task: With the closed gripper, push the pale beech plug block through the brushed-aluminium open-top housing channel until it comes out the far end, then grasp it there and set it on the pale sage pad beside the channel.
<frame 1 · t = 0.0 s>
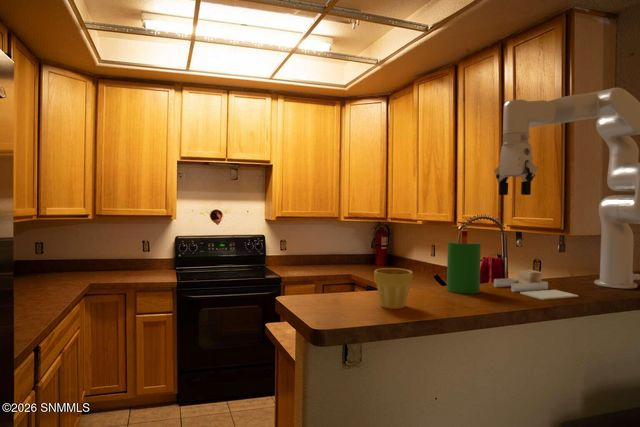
hand: (514, 194, 146), 31 cm above the countertop, tool pointing down, fingers open, 9 cm apart
plant pot: (392, 306, 127), on the countertop
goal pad: (548, 295, 144), on the countertop
plug block: (529, 287, 157), on the countertop
green cylinder: (463, 291, 149), on the countertop
housing channel: (520, 287, 155), on the countertop
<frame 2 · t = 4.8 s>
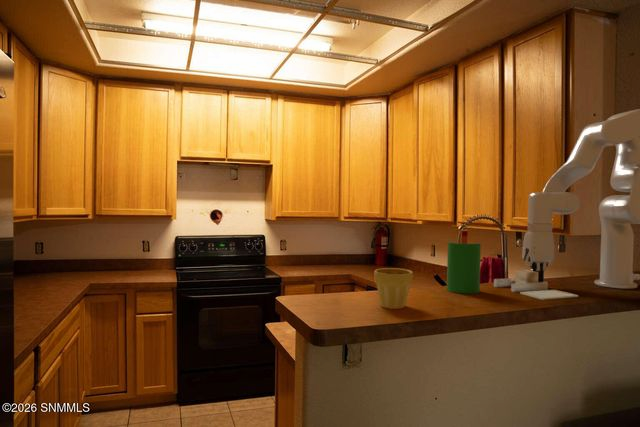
hand: (538, 282, 158), 2 cm above the countertop, tool pointing down, fingers closed
plug block: (526, 287, 156), on the countertop, touching gripper
everything else where it was.
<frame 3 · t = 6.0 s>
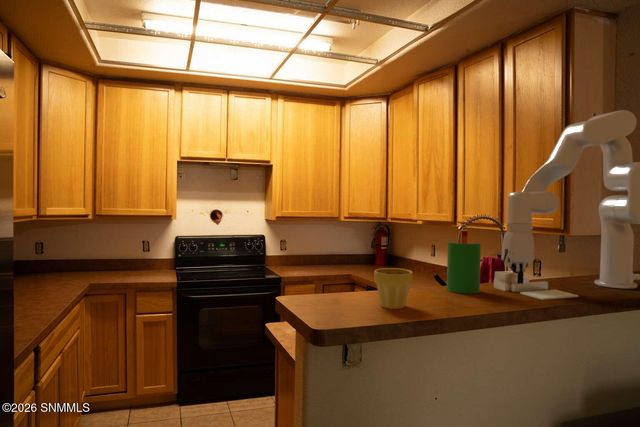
hand: (517, 283, 155), 2 cm above the countertop, tool pointing down, fingers closed
plug block: (505, 288, 153), on the countertop, touching gripper
everything else where it was.
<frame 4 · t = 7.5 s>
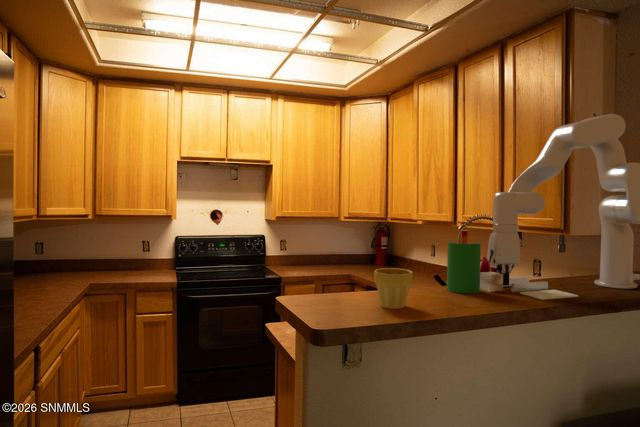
hand: (503, 284, 153), 2 cm above the countertop, tool pointing down, fingers closed
plug block: (491, 290, 151), on the countertop, touching gripper
everything else where it was.
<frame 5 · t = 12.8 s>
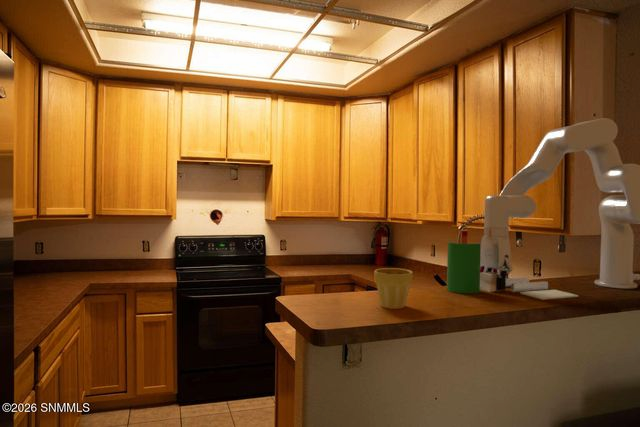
hand: (494, 287, 152), 1 cm above the countertop, tool pointing down, fingers closed on plug block, 5 cm apart
plug block: (490, 290, 151), on the countertop, touching gripper
everything else where it was.
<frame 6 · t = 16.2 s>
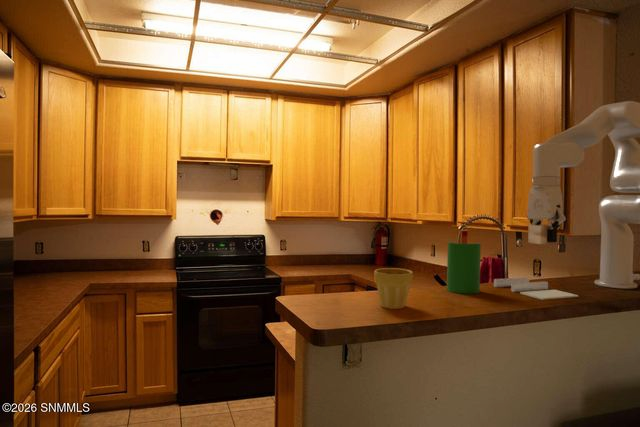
hand: (544, 240, 144), 17 cm above the countertop, tool pointing down, fingers closed on plug block, 5 cm apart
plug block: (540, 243, 144), point 16 cm above the countertop, touching gripper
everything else where it was.
when the fingers open (3 cm above the countertop, at t = 19.6 s): plug block drops 1 cm, resting on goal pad.
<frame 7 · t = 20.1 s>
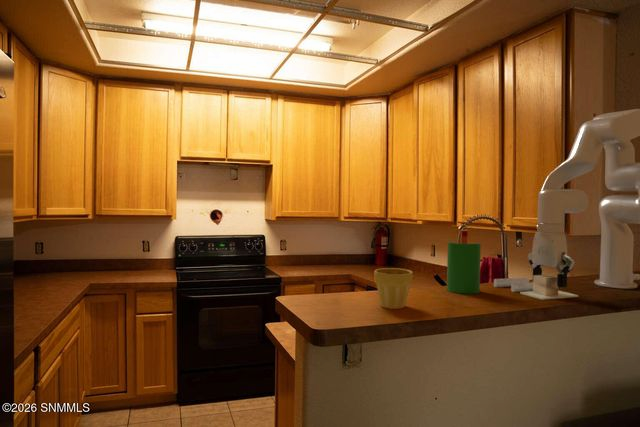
hand: (549, 284, 144), 4 cm above the countertop, tool pointing down, fingers open, 9 cm apart
plug block: (545, 293, 143), resting on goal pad
everything else where it was.
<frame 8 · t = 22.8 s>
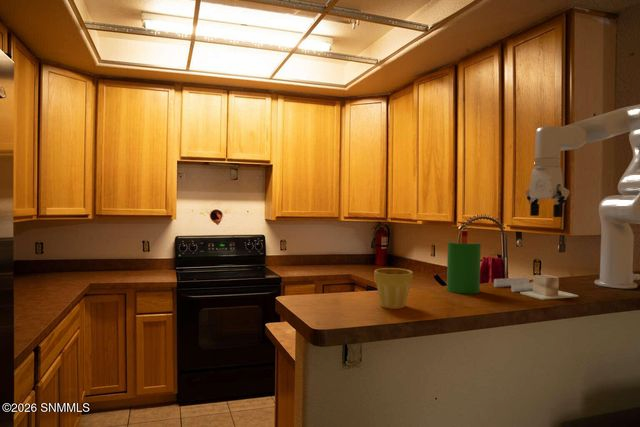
hand: (545, 216, 153), 24 cm above the countertop, tool pointing down, fingers open, 9 cm apart
nothing on the countertop moved.
at the end: plug block inside the target area on the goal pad (1.4 cm from its centre), point 0.5 cm above the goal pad's base; plug block tilted 0°; the gripper is holding nothing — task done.
